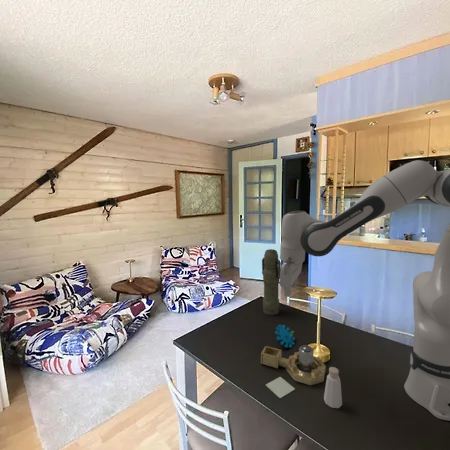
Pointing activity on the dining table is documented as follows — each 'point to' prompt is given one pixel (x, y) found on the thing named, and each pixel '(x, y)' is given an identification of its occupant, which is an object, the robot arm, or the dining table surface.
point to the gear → (285, 336)
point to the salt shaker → (333, 389)
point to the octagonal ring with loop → (294, 365)
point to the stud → (305, 358)
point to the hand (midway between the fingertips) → (290, 291)
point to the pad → (280, 387)
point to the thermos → (271, 281)
